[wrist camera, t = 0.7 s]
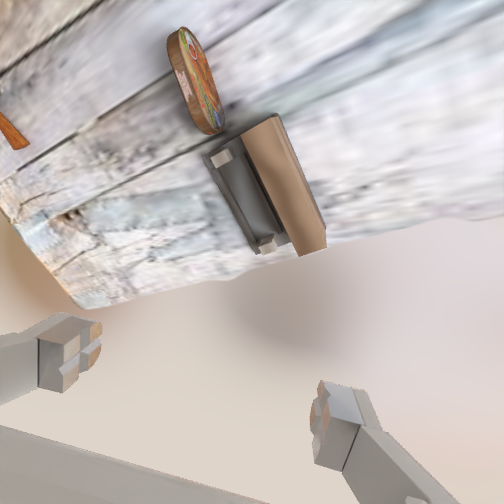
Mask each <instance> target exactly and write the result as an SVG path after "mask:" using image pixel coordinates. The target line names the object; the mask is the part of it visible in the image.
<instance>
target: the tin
mask: <svg viewBox="0 0 504 504" xmlns="http://www.w3.org/2000/svg"><path fill="white" fill-rule="evenodd" d="M167 51H168V56H169V60H170V62H171V65H172V68H173V71H174V73H175V76H176V79H177V81H178V84H179V87H180V89H181V92H182V95H183V97H184V100H185V103H186V105H187V108H188V110H189V113H190V115H191V117H192V119H193V121H194V123H195V125H196V126H197V127H198V129H199V130H200V131H201V132H203V133H204V134H207V135H211V134H214V133H217V132H221V131H223V129H224V125H225V119H224V113H223V109H222V105H221V102H220V99H219V96H218V93H217V90H216V87H215V84H214V81H213V78H212V74H211V71H210V68H209V65H208V62H207V59H206V57H205V54H204V52H203V50H202V48H201V46H200V44H199V42H198V40H197V39H196V37H195V36H194V35H193V33H192V32H191V31H190V30H189V29H188V28H186V27H180V29H179V30H177V31H175V32H173V33H172V34H171V35H169V37H168V39H167Z"/></svg>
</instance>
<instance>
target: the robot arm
mask: <svg viewBox="0 0 504 504" xmlns="http://www.w3.org/2000/svg"><path fill="white" fill-rule="evenodd" d="M101 334H102V324H101V323H99V322H96V321H93V320H89V319H86V318H82V317H79V316H74V315H71V314H68V313H63V312H59V313H56V314H55V315H53V316H51V317H49V318H47V319H46V320H43V321H41V322H40V323H38V324H36V325H34V326H32V327H30V328H29V329H27V330H25V331H23V332H21V333H19V334H18V333H10V334H6V335H1V336H0V405H2V404H4V403H7V402H9V401H11V400H13V399H16V398H18V397H20V396H22V395H25V394H27V393H29V392H31V391H33V390H36V389H37V388H38V387H39V388H43V389H48V390H51V391H55V392H59V393H63V392H64V391H66V390H67V389H68V388H69V387H70V386H71V385H72V384H73V383H74V382H75V381H77V380H78V377H79V373H81V372H84V371H87V370H88V369H89V368H90V367H92V366H93V365H94V363H95V362H96V360H97V358H98V357H99V353H100V351H101V343H100V341H99V339H98V337H99V336H100V335H101ZM317 392H318V397H317V398H316V399H314V400H313V404H312V407H311V413H310V429H311V432H312V433H313V434H314V439H313V442H312V446H313V455H314V462H315V464H317V465H321V466H324V467H327V468H330V469H333V470H337V471H340V472H342V475H343V476H344V478H345V480H346V482H347V483H348V485H349V486H350V488H351V490H352V491H353V493H354V495H355V496H356V498H357V500H358V501H359V503H360V504H460V503H459V502H458V501H457V500H456V499H455V498H454V497H453V496H452V495H451V494H450V493H449V492H448V491H447V490H446V489H445V488H444V487H443V486H442V485H441V484H440V483H439V482H438V481H437V480H436V479H435V478H434V477H432V475H431V474H430V473H429V472H428V471H427V470H425V468H424V467H423V466H422V465H421V464H419V463H418V462H417V461H416V460H415V459H414V458H413V457H412V456H411V455H410V454H409V453H408V452H407V451H406V450H405V449H404V448H403V447H402V446H401V445H400V444H399V443H398V442H397V441H396V440H395V439H394V438H393V437H392V436H391V435H390V434H389V433H388V432H384V431H383V429H382V427H381V425H380V422H379V420H378V418H377V415H376V413H375V410H374V408H373V406H372V403H371V401H370V399H369V396H368V394H367V392H366V391H365V390H362V389H357V388H353V387H347V386H343V385H339V384H334V383H331V382H327V381H323V380H321V381H320V383H319V385H318V388H317ZM0 504H269V503H265V502H262V501H259V500H255V499H252V498H248V497H245V496H242V495H238V494H235V493H231V492H228V491H225V490H221V489H218V488H214V487H211V486H208V485H204V484H201V483H197V482H194V481H191V480H187V479H184V478H180V477H177V476H173V475H170V474H166V473H163V472H160V471H156V470H153V469H149V468H146V467H142V466H139V465H136V464H132V463H129V462H125V461H122V460H118V459H115V458H111V457H108V456H105V455H101V454H97V453H94V452H91V451H87V450H84V449H80V448H77V447H74V446H70V445H66V444H63V443H59V442H57V441H53V440H49V439H46V438H43V437H39V436H36V435H33V434H29V433H26V432H22V431H18V430H15V429H12V428H8V427H5V426H1V425H0Z"/></svg>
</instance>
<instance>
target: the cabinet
mask: <svg viewBox="0 0 504 504" xmlns="http://www.w3.org/2000/svg"><path fill="white" fill-rule="evenodd" d="M203 159H204V161H205V162H206V164H207V166H208V168H209V170H210V172H211V173H212V175H213V177H214V179H215V181H216V183H217V184H218V186H219V188H220V190H221V192H222V193H223V195H224V197H225V199H226V201H227V203H228V204H229V206H230V208H231V210H232V212H233V214H234V215H235V217H236V219H237V221H238V223H239V225H240V226H241V228H242V230H243V232H244V234H245V236H246V237H247V239H248V241H249V243H250V245H251V247H252V248H253V250H254V252H255V254H256V255H257V254H260V253H262V255H265V254H268V253H271V252H274V251H276V249H277V247H279V246H282V245H284V244H287V243H290V242H292V244H293V246H294V248H295V250H296V252H297V254H298V256H299V257H300V256H303V255H306V254H309V253H312V252H315V251H318V250H321V249H324V248H327V246H326V232H325V230H326V226H325V223H324V221H323V218H322V216H321V214H320V211H319V209H318V207H317V204H316V202H315V199H314V197H313V195H312V192H311V190H310V188H309V185H308V183H307V180H306V178H305V176H304V173H303V171H302V169H301V166H300V164H299V161H298V159H297V157H296V154H295V152H294V150H293V147H292V145H291V142H290V140H289V138H288V135H287V133H286V131H285V128H284V126H283V124H282V121H281V119H280V116H279V114H278V113H277V114H275V115H274V116H272V117H270V118H269V119H267V120H265V121H263V122H262V123H260V124H258V125H256V126H255V127H253V128H251V129H250V130H248V131H246V132H244V133H243V134H241V135H239V136H238V137H236V138H234V139H232V140H231V141H229V142H227V143H226V144H224V145H222V146H220V147H219V148H217V149H215V150H213V151H212V152H210V153H208V154H207V155H205V156H203Z"/></svg>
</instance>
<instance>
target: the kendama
mask: <svg viewBox="0 0 504 504" xmlns="http://www.w3.org/2000/svg"><path fill="white" fill-rule="evenodd" d="M0 130H1V131H2V133H3V134H4V136H5V137H6V139H7V140H8V142H9V143H10V145H11V146H12V148H13V149H14V150H19V149H22V148H24V147H26V146H28V145H29V143H28V141H27V140H26V139H25V138H24V137H23V136H22V135H21V134H20V133H19V132H18V131H17V130H16V129H15V127H14V126H13V125H12V124H11V123H10V122H9V121H8V120H7V119H6V118H5V117H4V116H3V115H2V113H1V112H0Z"/></svg>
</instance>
